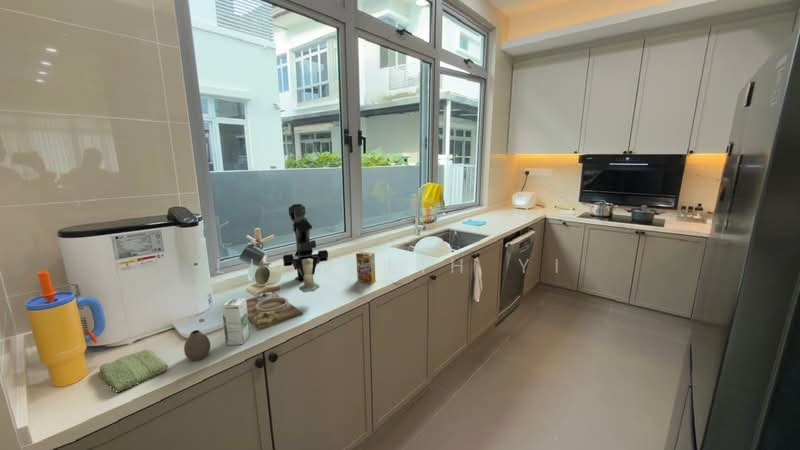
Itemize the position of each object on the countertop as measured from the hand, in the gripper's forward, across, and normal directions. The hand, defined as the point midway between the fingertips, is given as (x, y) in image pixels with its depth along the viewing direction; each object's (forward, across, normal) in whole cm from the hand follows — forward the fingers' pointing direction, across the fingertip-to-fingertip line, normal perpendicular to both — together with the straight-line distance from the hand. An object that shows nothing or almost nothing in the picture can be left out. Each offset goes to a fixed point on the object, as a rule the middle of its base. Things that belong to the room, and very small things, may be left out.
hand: (308, 275), depth 130 cm
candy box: (-2, +30, +21) cm, 37 cm away
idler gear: (+4, 0, +6) cm, 7 cm away
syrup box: (+23, -26, -4) cm, 35 cm away
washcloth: (+27, -54, -7) cm, 61 cm away
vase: (+26, -37, -7) cm, 46 cm away
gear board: (+8, -18, +12) cm, 22 cm away
